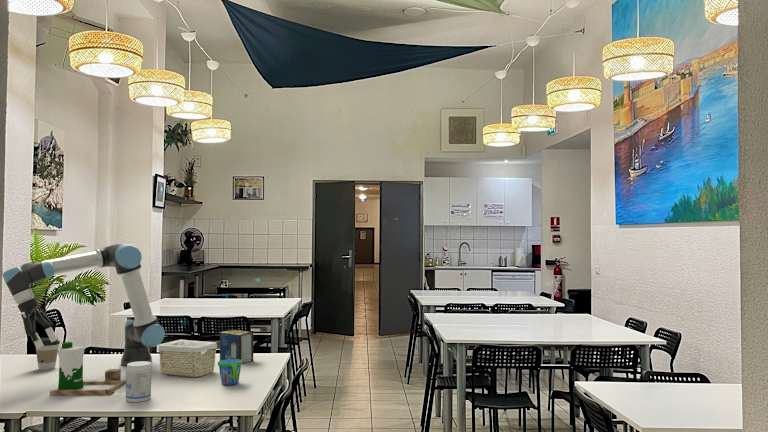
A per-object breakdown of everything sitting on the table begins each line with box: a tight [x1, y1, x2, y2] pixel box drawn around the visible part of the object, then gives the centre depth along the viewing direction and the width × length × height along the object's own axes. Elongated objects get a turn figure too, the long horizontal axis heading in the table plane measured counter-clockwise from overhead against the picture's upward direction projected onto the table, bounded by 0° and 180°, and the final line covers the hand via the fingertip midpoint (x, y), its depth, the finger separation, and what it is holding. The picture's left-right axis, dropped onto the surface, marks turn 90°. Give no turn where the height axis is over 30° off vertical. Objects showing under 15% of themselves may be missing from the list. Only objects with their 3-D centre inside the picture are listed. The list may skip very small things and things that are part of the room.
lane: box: [49, 380, 126, 397], centre depth 264 cm, size 25×17×2 cm
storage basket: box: [158, 339, 218, 378], centre depth 298 cm, size 24×16×15 cm
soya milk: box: [57, 341, 86, 390], centre depth 264 cm, size 9×9×20 cm
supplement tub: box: [125, 361, 153, 403], centre depth 249 cm, size 10×10×15 cm
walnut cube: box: [104, 368, 122, 381], centre depth 277 cm, size 5×5×5 cm
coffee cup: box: [35, 337, 61, 371], centre depth 308 cm, size 11×11×15 cm
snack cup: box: [217, 359, 243, 386], centre depth 276 cm, size 16×10×10 cm
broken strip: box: [83, 379, 125, 381], centre depth 277 cm, size 21×5×1 cm, turn 93°
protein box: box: [219, 329, 254, 364], centre depth 327 cm, size 10×15×16 cm
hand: (47, 344), depth 270 cm, fingers open, 13 cm apart
